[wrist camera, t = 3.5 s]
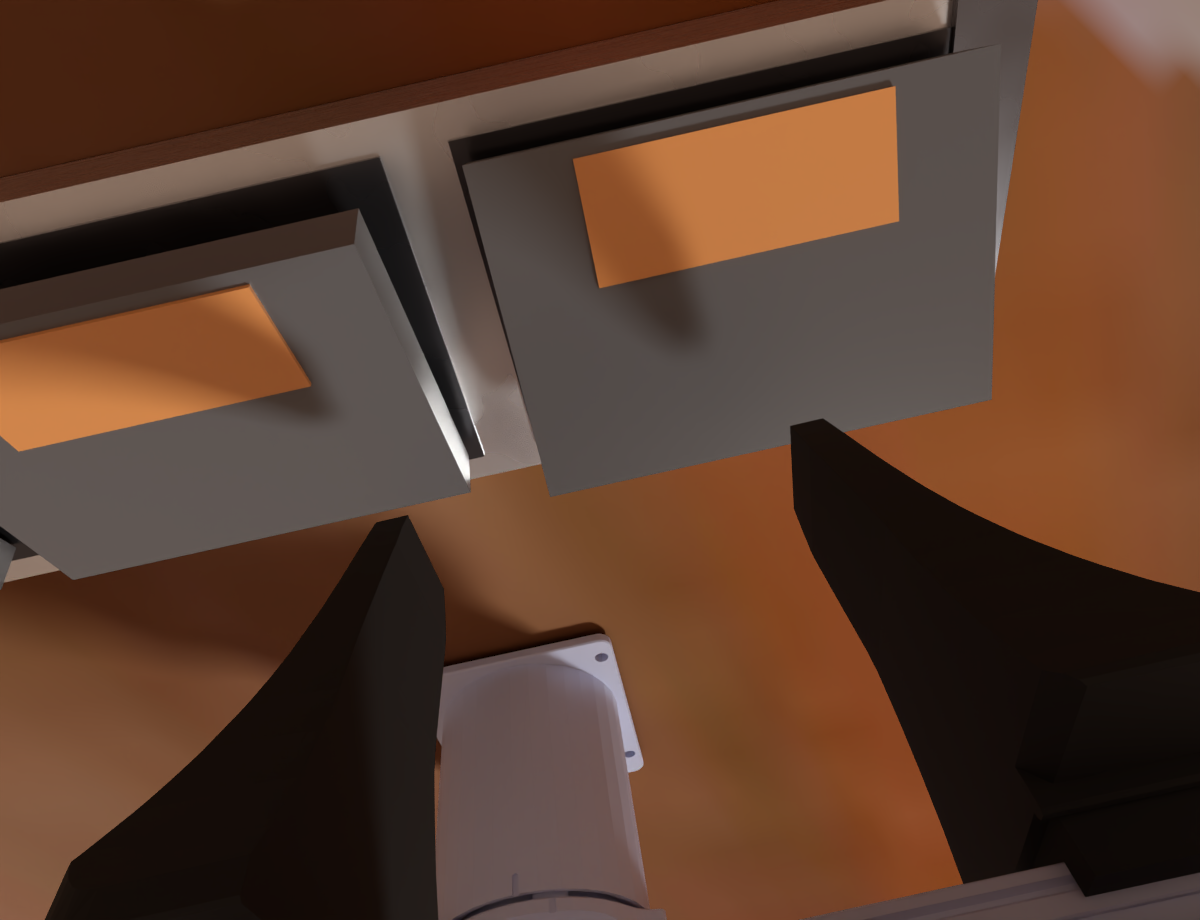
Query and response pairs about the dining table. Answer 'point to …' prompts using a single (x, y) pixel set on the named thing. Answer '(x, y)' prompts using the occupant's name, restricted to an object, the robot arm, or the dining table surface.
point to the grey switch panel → (436, 178)
